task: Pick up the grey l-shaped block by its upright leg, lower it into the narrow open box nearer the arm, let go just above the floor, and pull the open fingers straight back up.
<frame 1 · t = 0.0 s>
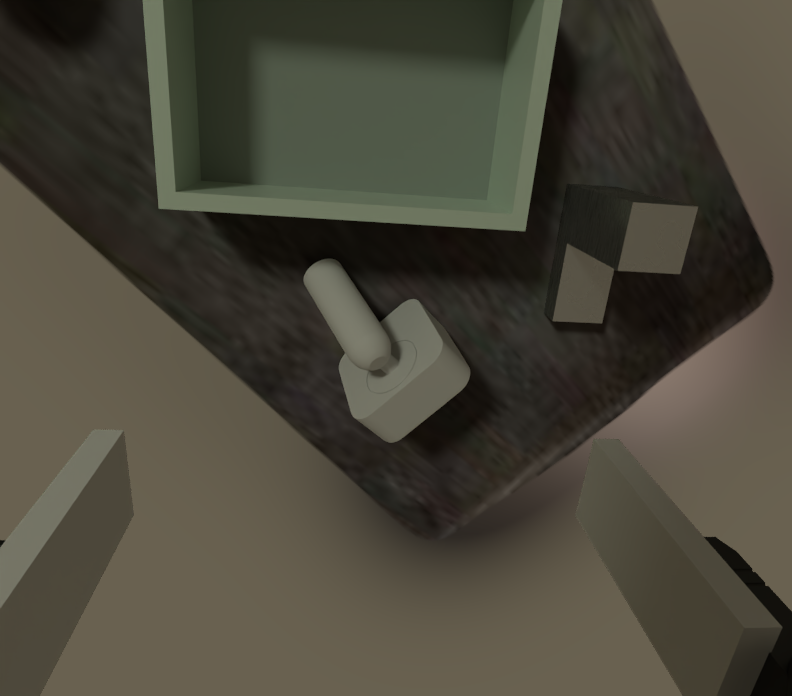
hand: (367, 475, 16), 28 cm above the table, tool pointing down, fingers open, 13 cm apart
open box: (352, 89, 38), on the table
wall hook: (366, 315, 44), on the table
grey l-shaped block: (579, 252, 43), on the table
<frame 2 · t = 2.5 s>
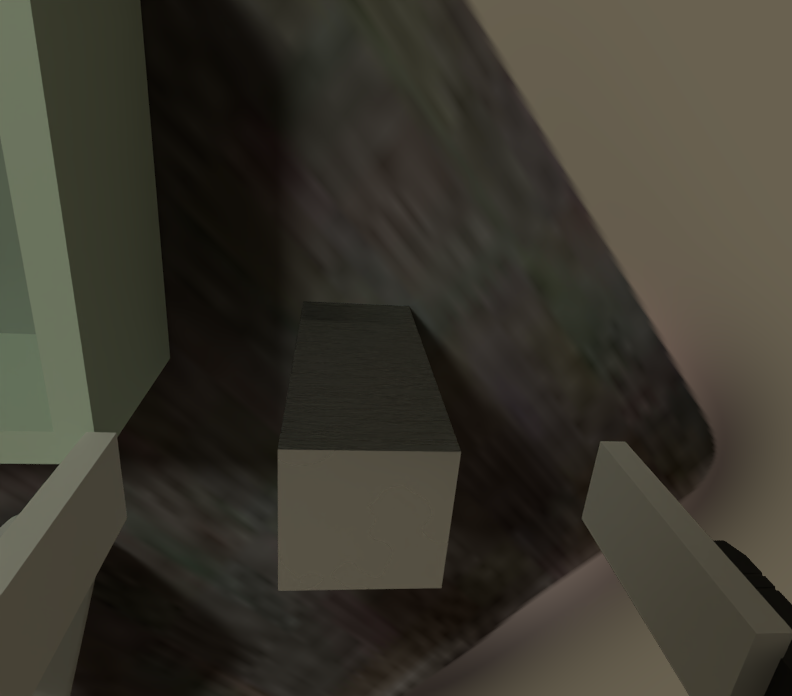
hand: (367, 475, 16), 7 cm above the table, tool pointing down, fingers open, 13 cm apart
grey l-shaped block: (350, 418, 23), on the table
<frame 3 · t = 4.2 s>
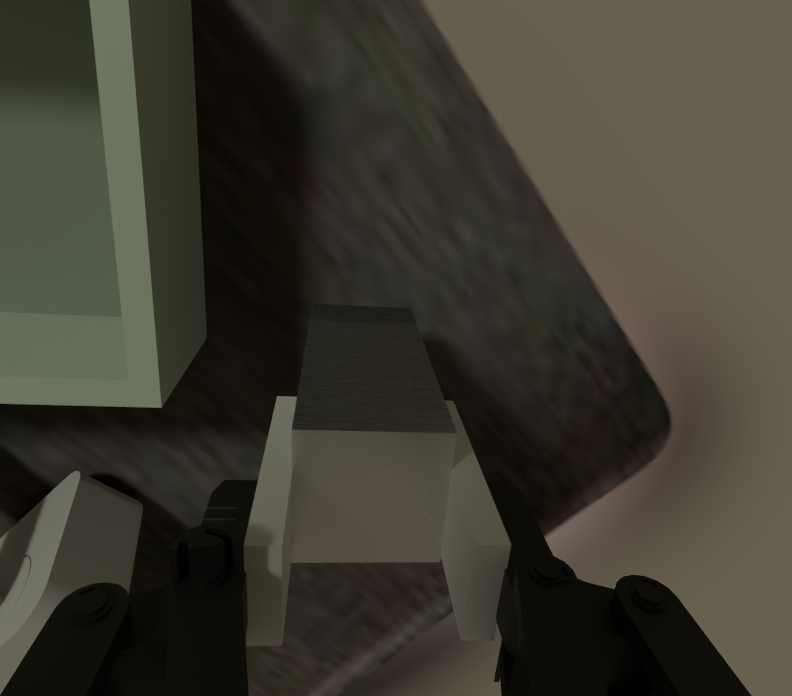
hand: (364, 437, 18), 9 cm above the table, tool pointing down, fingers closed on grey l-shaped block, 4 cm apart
wall hook: (28, 487, 28), on the table
grey l-shaped block: (355, 415, 25), point 3 cm above the table, touching gripper
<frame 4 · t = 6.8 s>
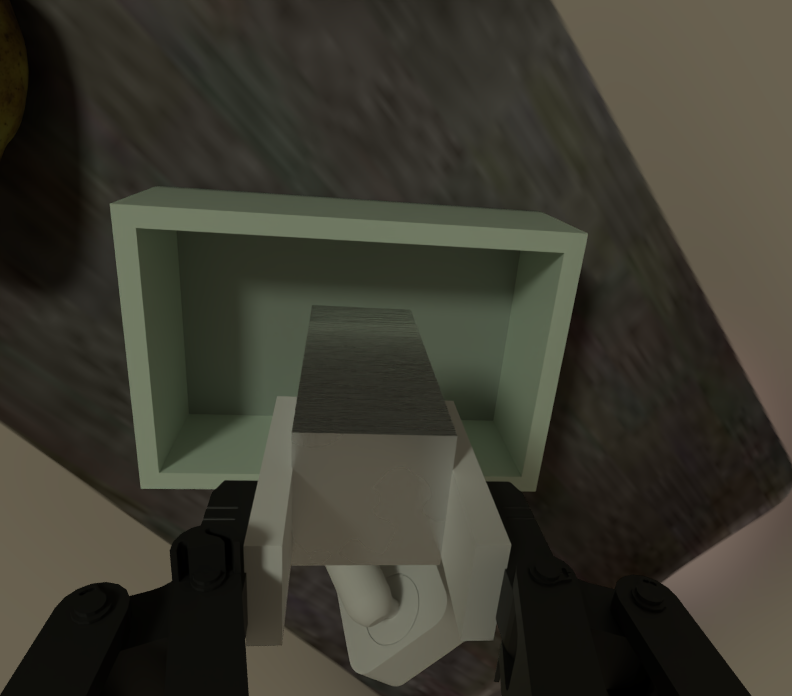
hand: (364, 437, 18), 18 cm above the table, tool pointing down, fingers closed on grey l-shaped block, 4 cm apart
open box: (350, 322, 35), on the table
wall hook: (365, 525, 42), on the table
grey l-shaped block: (355, 416, 25), point 12 cm above the table, touching gripper
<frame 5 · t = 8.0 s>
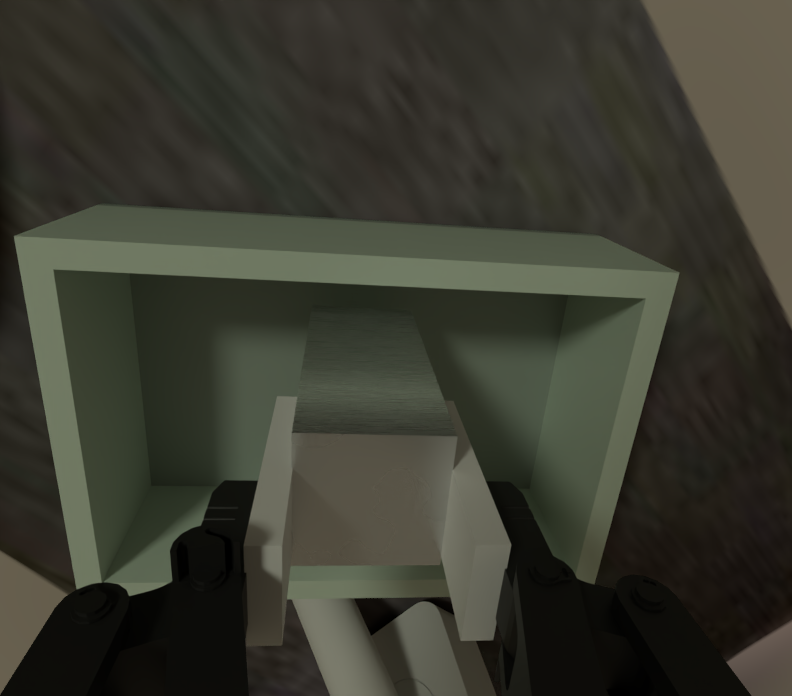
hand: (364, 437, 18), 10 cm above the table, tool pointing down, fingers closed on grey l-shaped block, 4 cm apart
open box: (353, 372, 28), on the table
wall hook: (371, 608, 34), on the table
grey l-shaped block: (355, 416, 25), point 4 cm above the table, touching gripper
when the fingers open (7 cm above the table, at t = 9.2 s): grey l-shaped block stays where it is, resting on open box.
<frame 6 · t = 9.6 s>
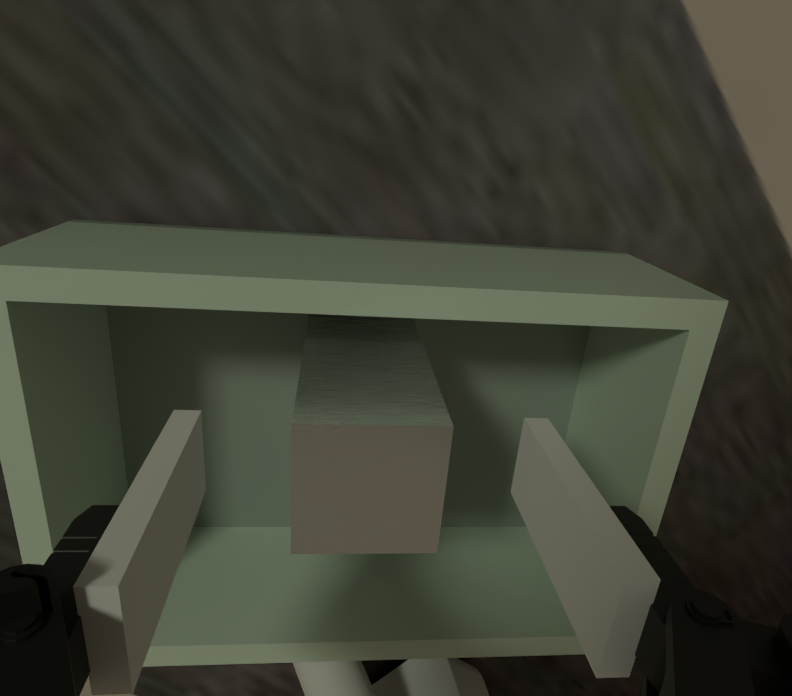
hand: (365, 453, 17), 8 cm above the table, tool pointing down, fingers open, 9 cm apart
open box: (354, 402, 25), on the table
wall hook: (373, 653, 32), on the table
grey l-shaped block: (354, 410, 25), resting on open box
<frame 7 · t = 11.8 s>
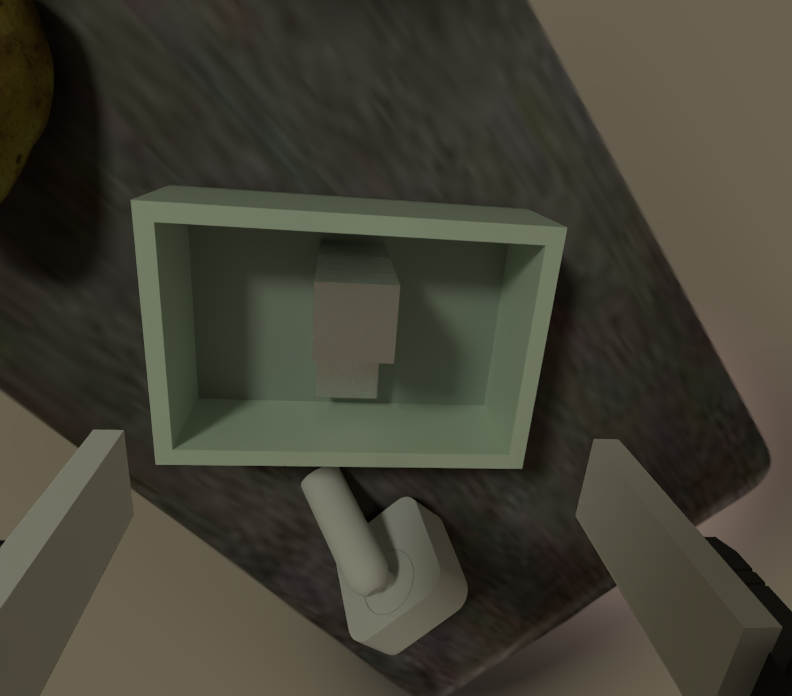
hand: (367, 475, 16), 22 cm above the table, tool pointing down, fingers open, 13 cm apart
open box: (349, 312, 38), on the table
wall hook: (364, 506, 44), on the table
grey l-shaped block: (349, 316, 37), resting on open box
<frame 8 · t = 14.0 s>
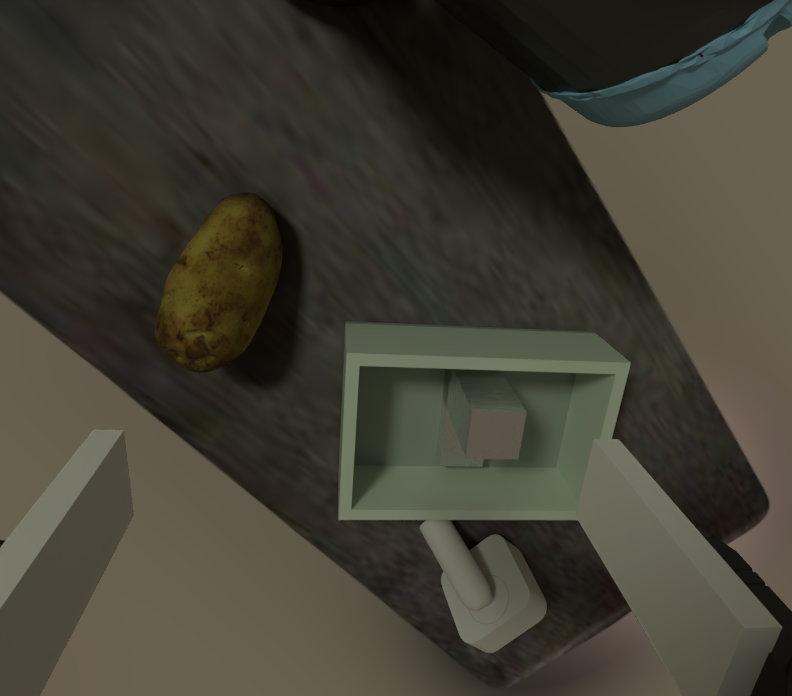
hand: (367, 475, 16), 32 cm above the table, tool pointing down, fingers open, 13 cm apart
open box: (462, 403, 52), on the table
wall hook: (460, 540, 58), on the table
potato: (235, 271, 45), on the table
grey l-shaped block: (462, 407, 51), resting on open box
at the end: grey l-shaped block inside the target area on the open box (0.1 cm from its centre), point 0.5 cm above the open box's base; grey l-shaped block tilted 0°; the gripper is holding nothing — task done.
